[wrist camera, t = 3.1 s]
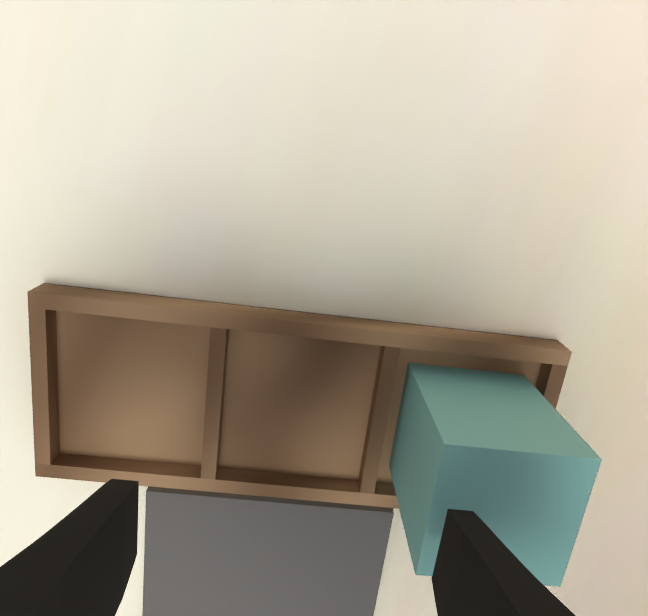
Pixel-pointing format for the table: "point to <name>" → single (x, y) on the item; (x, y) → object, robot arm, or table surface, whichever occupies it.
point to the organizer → (238, 392)
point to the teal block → (489, 465)
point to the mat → (260, 555)
